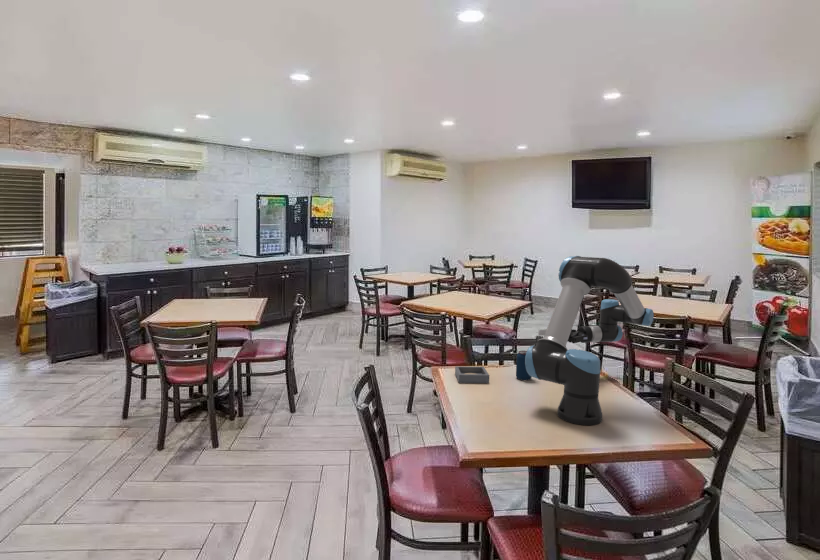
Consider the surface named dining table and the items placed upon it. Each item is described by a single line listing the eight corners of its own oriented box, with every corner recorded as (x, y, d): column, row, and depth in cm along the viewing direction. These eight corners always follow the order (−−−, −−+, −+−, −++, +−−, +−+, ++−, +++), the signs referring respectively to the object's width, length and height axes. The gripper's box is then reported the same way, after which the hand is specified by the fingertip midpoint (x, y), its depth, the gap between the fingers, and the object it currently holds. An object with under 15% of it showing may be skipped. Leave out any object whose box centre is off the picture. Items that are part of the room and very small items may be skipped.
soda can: (533, 381, 219) (535, 354, 218) (518, 381, 219) (519, 354, 217) (529, 376, 226) (530, 350, 225) (513, 376, 225) (515, 350, 224)
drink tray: (489, 383, 214) (489, 375, 214) (458, 382, 214) (459, 374, 214) (483, 374, 227) (483, 366, 227) (455, 373, 227) (455, 366, 227)
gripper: (604, 349, 216) (560, 351, 211) (573, 336, 240) (532, 337, 235) (605, 332, 215) (561, 333, 210) (574, 320, 239) (533, 321, 234)
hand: (546, 335), depth 222 cm, fingers open, 13 cm apart
